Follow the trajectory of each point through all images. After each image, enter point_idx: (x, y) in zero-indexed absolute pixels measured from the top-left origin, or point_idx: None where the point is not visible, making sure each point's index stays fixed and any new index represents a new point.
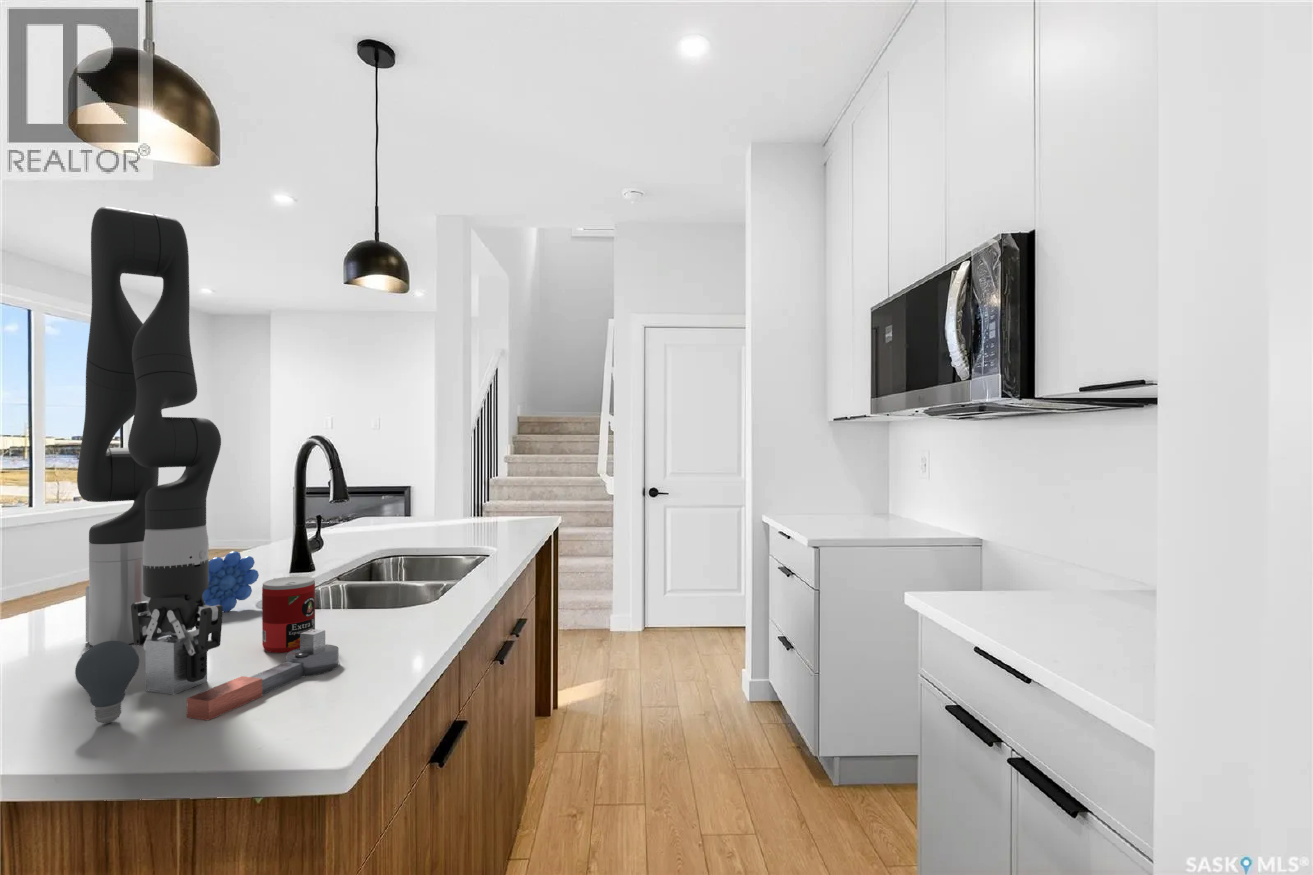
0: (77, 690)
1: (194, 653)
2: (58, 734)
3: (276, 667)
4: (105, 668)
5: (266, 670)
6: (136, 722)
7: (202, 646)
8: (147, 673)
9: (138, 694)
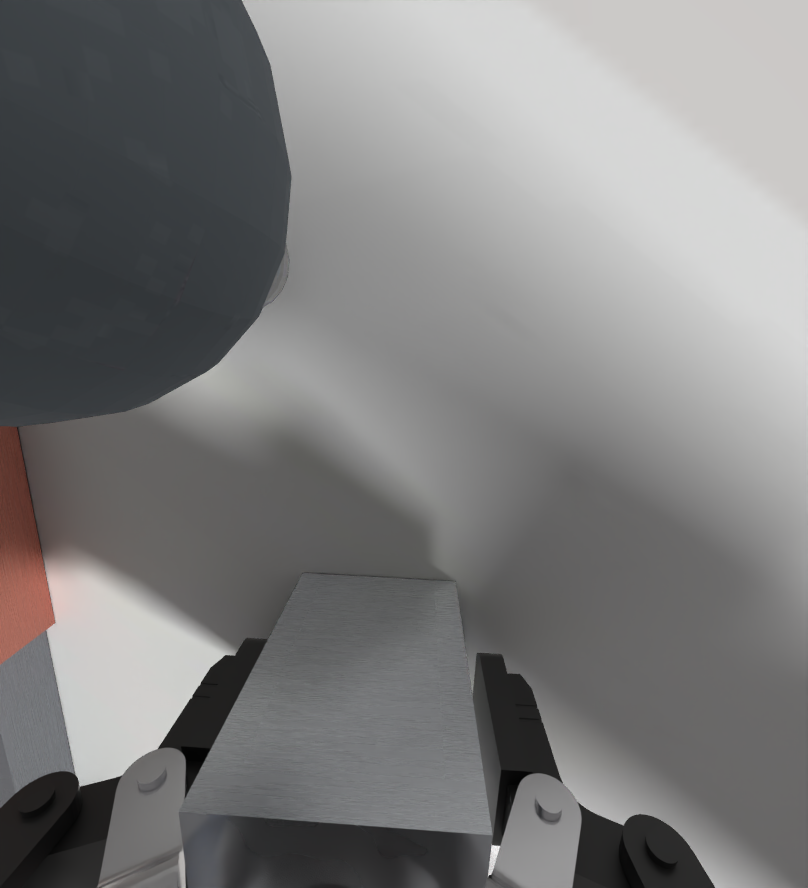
0: (774, 537)
1: (135, 763)
2: (352, 112)
3: (2, 792)
4: None
5: (5, 761)
6: None
7: (19, 814)
8: (448, 632)
9: (452, 549)
